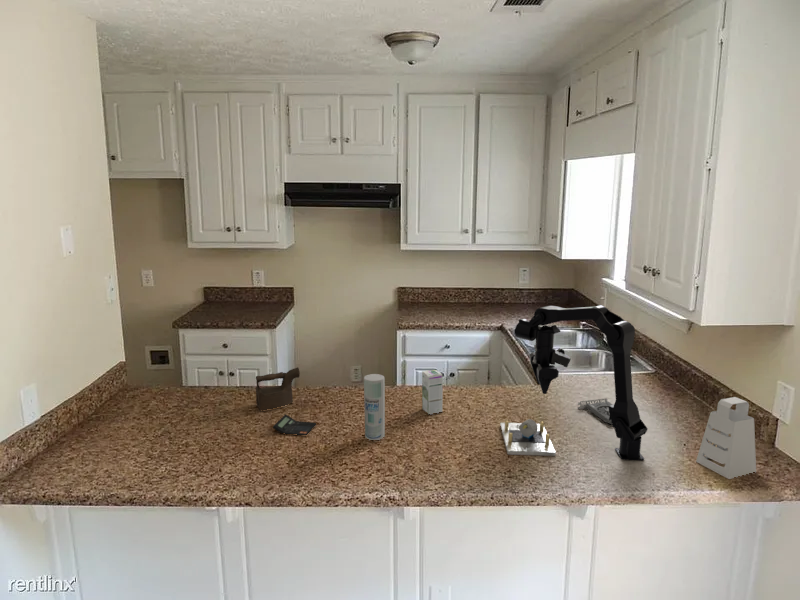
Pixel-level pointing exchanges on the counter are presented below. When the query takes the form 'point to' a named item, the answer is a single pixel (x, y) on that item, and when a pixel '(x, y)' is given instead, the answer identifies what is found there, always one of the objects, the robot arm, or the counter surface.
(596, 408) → the graphics card
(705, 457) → the grater
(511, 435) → the chassis plate
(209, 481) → the counter surface
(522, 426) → the electric motor
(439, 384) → the syrup box
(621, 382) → the robot arm
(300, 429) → the calculator
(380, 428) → the spray can
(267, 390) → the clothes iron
